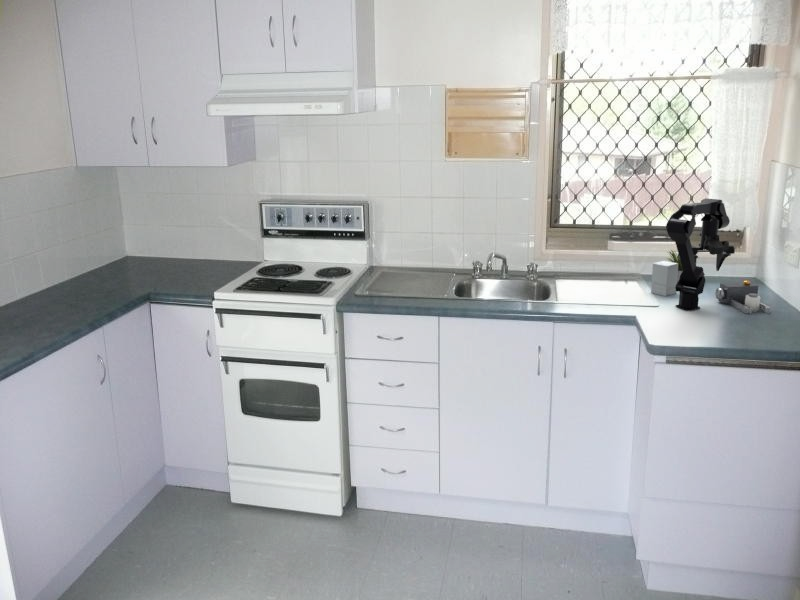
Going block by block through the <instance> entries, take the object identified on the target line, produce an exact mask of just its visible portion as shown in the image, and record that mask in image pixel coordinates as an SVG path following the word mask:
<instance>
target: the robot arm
mask: <svg viewBox="0 0 800 600" xmlns="http://www.w3.org/2000/svg"><path fill="white" fill-rule="evenodd" d="M702 214H704V216H702V218H701V219H700V221H701V222H702V223H701V232H700V233H699V236H700V243H698V247H696V246H695V245H693V244H691V243H692V241H691V237H692V235H693V232H694V228H695V227H696V225H697V223H696V216H697V215H702ZM684 216H691V219H690V220H689V219H681V218H682V217H684ZM730 221H731V220H730V217H729V216H728V215H727V211H726V207H725V203H724V202H723V200H722V199H719V198H718V199H717V198H706V197H705V198H703V199H702V200H700V202H693V203H684V204H683V203H682V204H681V206H680V208H679V209H678V210H677V211H675V212H674V213H672V214H671V216H670V217H669V219H668V221H667V223H666V226H665V229H666V233H667V234H668V237H669V239H671V240H672V241H673V242H674V243H675V245H676V249H677V255H678V254H679V258H680V261H681V265H682V269H683V272H682V273H681V275H680V278H679V280H678V282H677V284H676V287H675V288H676V292H679V298H678V299H679V300H678V304H675V307H676V308H678V309H682V310H685V311H692V310H700V309H701V307H700V306H699V299H700V297H699V295H701V294H703V292H704V289H705V284H706V278H705V276H706V274H705V272H704V268H703V266H699V265H698V266H697V259H698V258H697V257H699V255H697V254H699V253H709V254H710V255H712V256H713V255H714V256H715V255H716V262H715V270H716V271H717V272H719V270H720V269H721V267H722V266H723V263H724V262H725V260H726V259H727V258H728V257H730V256H731V255H732V254H733V255H734V254H735V252H736V248H735V246H734V245H731V244H730V242H729V241H728V240H723V241H721V240H720V235H719V234H718V233H719V230H721V229H724V228H727V227H729V224H730Z"/></svg>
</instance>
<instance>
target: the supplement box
mask: <svg viewBox="0 0 800 600" xmlns="http://www.w3.org/2000/svg"><path fill="white" fill-rule="evenodd" d="M677 276H678V263H673V262H672V261H669V260H668V261H667V260H661V261H657V262H656V261H655V262H653V263H652V271H651V286H650V287H651V288H650V294H656V295H660V296H664V297H667V296H671V295H674V294H677V291H676V288H675V287H676V284H677Z"/></svg>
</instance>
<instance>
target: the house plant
mask: <svg viewBox="0 0 800 600" xmlns="http://www.w3.org/2000/svg"><path fill="white" fill-rule="evenodd" d="M667 252H668V255H669V256H670V257H669V258H668V257H667V258H666V260H668V261H669V262H673V263H678V276H677V282H678V280H679V278H680V275H681V273H682V272H683V269H682V265H681V261H680V258H679V254H678V253H677V252H676V251H674V250H673V249H672V248H671V249H670V250H668V251H667ZM697 259H700V257H699V256H698V257H697Z"/></svg>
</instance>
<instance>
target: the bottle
mask: <svg viewBox="0 0 800 600" xmlns="http://www.w3.org/2000/svg"><path fill="white" fill-rule="evenodd" d="M760 302H761V296H760V295H759V294H758V293H757V294H755V293H749V295H746V297H745V304H743V305H744V306H746V307H748V308H752V313H755V312H759V310H760V309H759V305H760Z"/></svg>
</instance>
